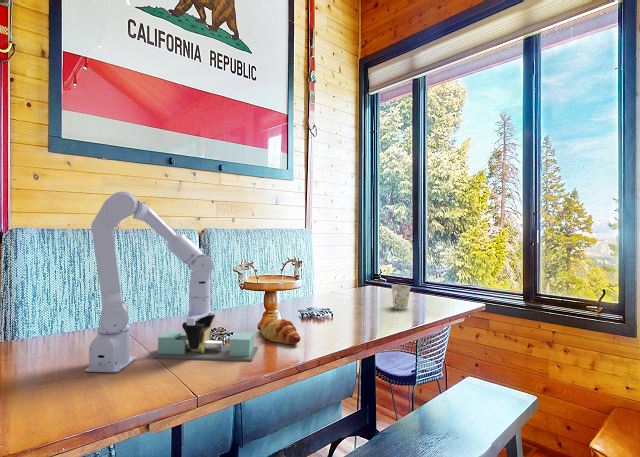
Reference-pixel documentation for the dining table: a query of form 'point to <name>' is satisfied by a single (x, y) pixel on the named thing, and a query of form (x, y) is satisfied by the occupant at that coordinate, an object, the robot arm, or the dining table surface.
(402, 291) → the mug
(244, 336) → the guide
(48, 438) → the dining table surface
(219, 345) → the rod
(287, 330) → the croissant
